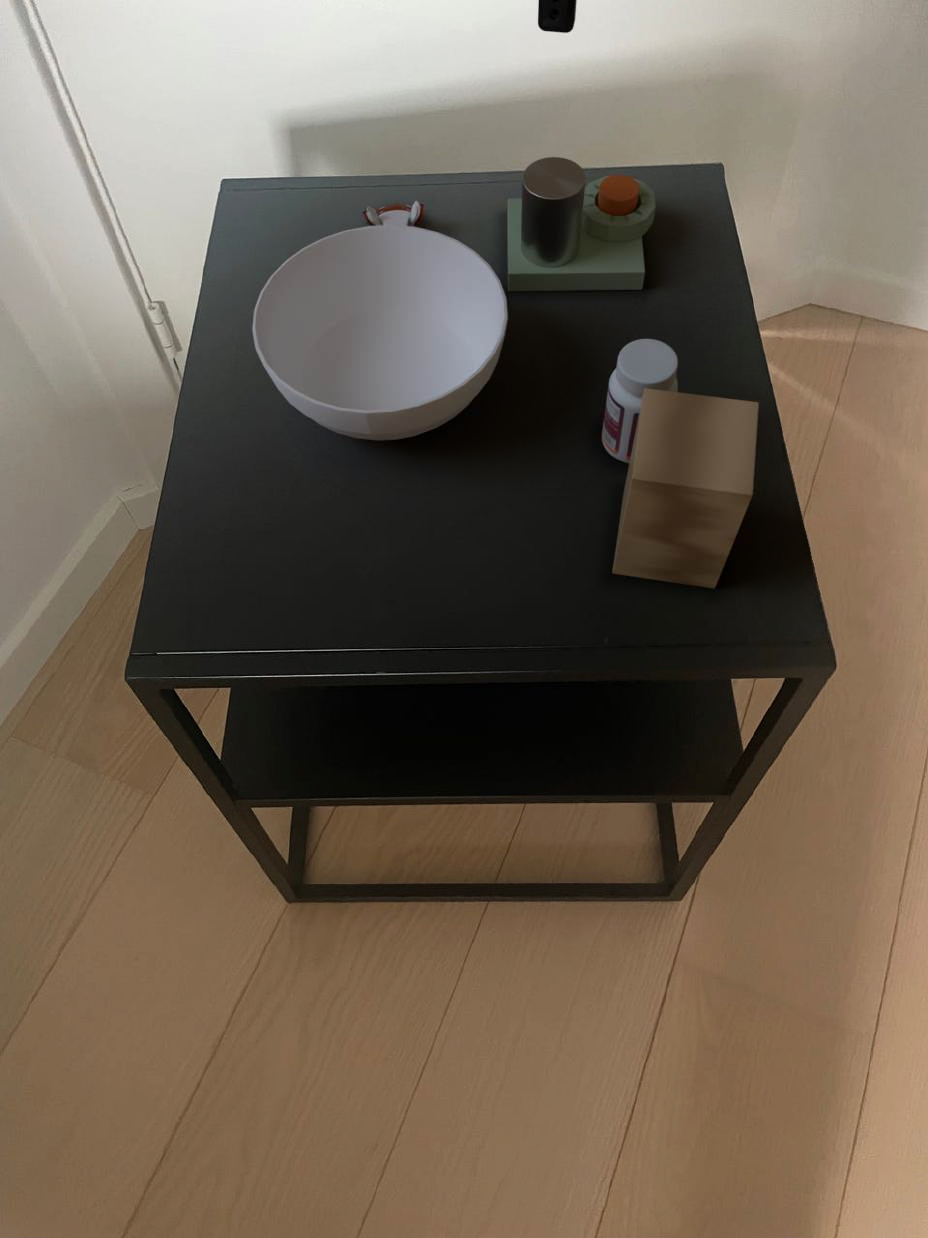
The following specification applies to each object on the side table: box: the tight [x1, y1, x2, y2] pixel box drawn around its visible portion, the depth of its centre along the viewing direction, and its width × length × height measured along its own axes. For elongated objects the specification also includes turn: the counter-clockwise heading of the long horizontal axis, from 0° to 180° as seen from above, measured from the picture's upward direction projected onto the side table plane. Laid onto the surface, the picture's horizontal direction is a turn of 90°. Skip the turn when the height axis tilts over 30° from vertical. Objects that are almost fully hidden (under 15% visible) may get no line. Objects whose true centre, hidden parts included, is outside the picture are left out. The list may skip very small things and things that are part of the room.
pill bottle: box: [601, 338, 679, 464], centre depth 67 cm, size 5×5×8 cm
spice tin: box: [521, 156, 587, 267], centre depth 75 cm, size 5×5×6 cm
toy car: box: [362, 200, 425, 227], centre depth 80 cm, size 5×8×3 cm, turn 2°
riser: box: [612, 388, 760, 589], centre depth 62 cm, size 7×7×11 cm
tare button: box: [598, 174, 639, 216], centre depth 78 cm, size 3×3×2 cm
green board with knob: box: [506, 175, 657, 292], centre depth 79 cm, size 12×10×4 cm
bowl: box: [252, 225, 509, 441], centre depth 71 cm, size 18×18×7 cm
